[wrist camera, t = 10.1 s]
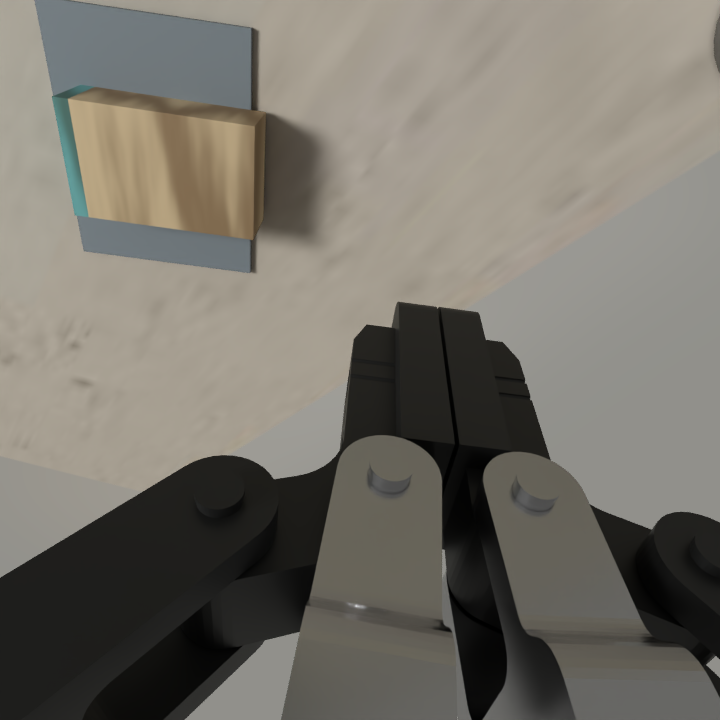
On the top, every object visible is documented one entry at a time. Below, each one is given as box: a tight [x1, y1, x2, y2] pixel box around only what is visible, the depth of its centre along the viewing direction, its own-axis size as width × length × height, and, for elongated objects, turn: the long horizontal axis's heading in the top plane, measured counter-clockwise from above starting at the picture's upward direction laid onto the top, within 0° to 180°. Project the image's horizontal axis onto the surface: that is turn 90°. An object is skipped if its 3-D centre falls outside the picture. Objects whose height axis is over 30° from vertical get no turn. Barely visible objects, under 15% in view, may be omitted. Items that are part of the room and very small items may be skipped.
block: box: [52, 85, 266, 240], centre depth 39 cm, size 4×8×13 cm
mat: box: [35, 0, 252, 273], centre depth 41 cm, size 14×18×1 cm
